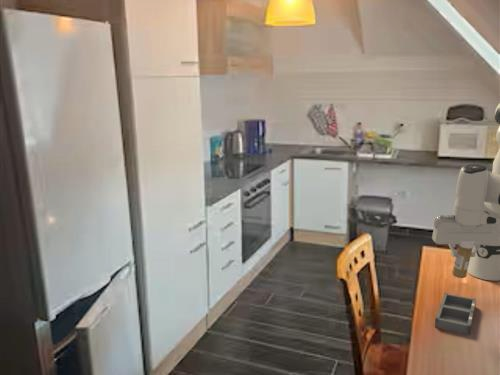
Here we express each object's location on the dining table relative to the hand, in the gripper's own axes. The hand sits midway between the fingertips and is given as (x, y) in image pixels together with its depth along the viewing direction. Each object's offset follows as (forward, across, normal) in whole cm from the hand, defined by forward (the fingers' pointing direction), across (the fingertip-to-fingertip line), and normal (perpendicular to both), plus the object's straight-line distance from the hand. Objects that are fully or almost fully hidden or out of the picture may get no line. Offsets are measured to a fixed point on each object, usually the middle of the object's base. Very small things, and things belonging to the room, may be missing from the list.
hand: (462, 256), depth 153 cm
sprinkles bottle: (+7, 0, +1) cm, 7 cm away
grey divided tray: (+24, +2, +4) cm, 24 cm away
